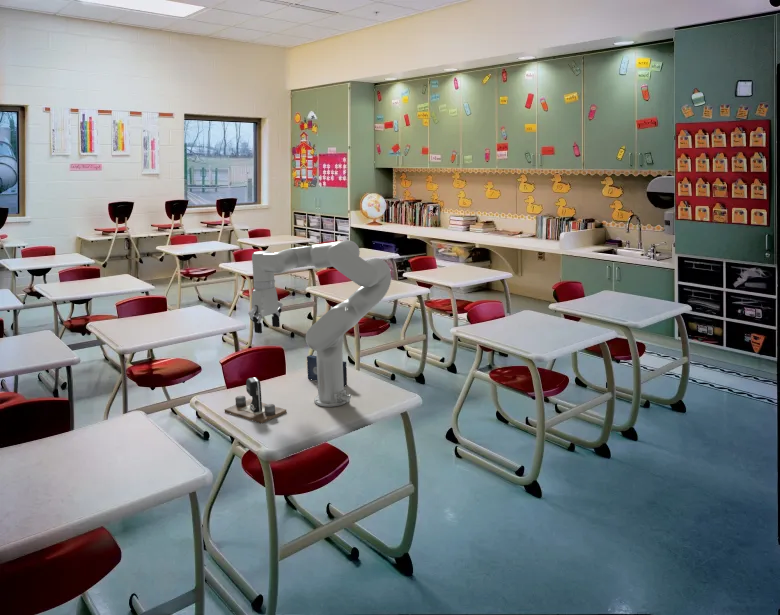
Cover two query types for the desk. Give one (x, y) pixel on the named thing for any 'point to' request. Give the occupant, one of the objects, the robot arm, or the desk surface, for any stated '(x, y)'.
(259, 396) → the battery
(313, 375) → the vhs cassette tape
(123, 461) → the desk surface
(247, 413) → the collar board
